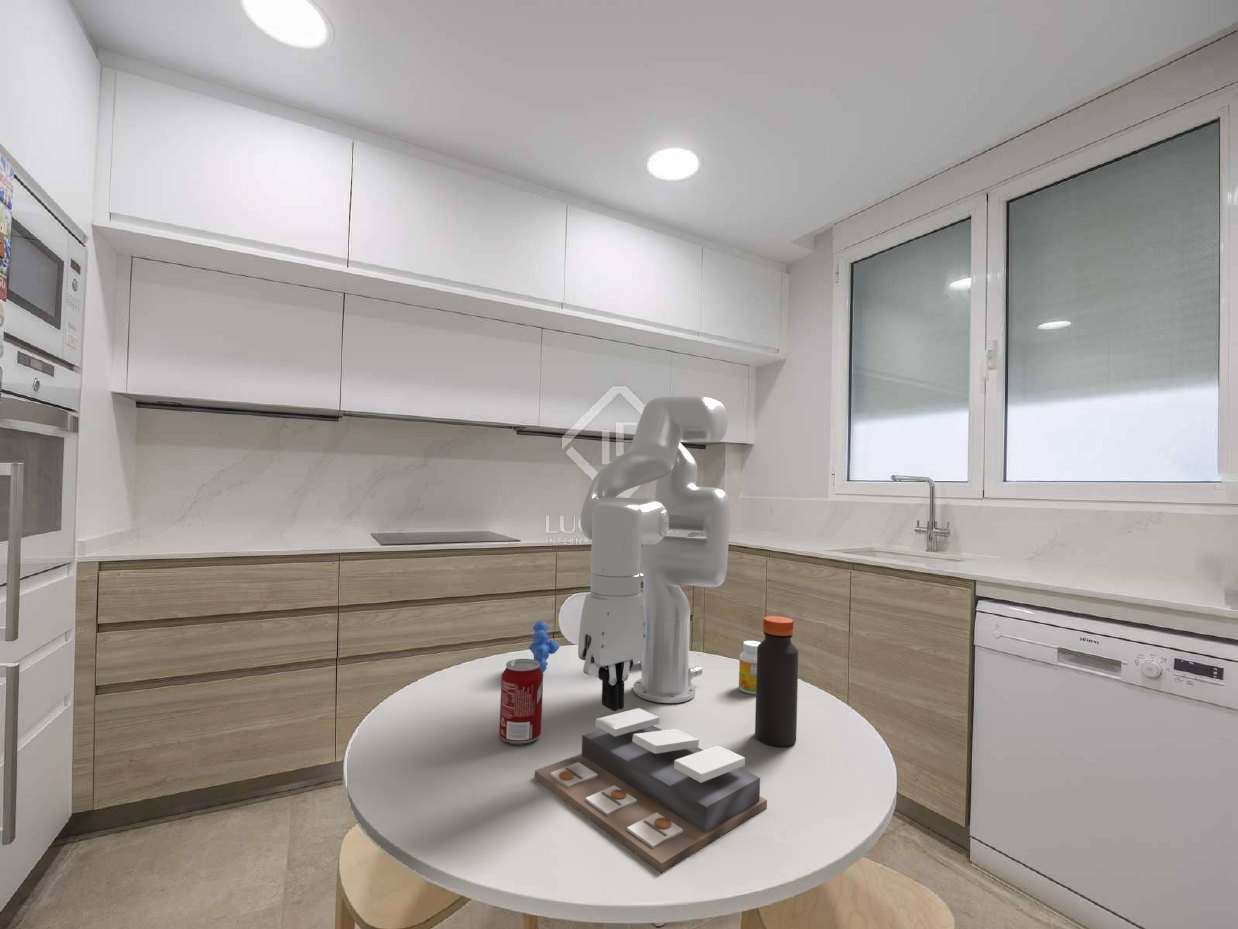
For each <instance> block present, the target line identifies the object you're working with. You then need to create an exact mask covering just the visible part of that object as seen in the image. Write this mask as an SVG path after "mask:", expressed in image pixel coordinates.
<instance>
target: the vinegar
mask: <svg viewBox="0 0 1238 929" xmlns="http://www.w3.org/2000/svg"><path fill="white" fill-rule="evenodd" d="M762 625H763V628H762V629H763V630H762V631H763V636H764V639H763V640H762V641H761V642H760V644H759V645H758V648H757V676H756V694H755V712H754V713H755V715H754V716H755V717H754V721H755V722H754V735H755V737H756V739H758V741H760V742H761V743H764V744H766V745H769V746H773V747H779V748H780V747H781V748H783V747H784V748H785V747H790V746H792V745H794V744H795V743H796V742H797V729H798V727H797V722H798V721H797V720H798V689H799V688H798V687H799V686H798V685H799V684H798V683H799V682H798V680H799V678H798V677H799V650H798V648H797V647H796V646H795V645H794V643H793V642H792V638H793V635H794V620H793V619H792V618H789V617H785V616H776V615H771V616H770V615H768V616H765V617H763V624H762Z"/></svg>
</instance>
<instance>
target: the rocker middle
mask: <svg viewBox="0 0 1238 929" xmlns="http://www.w3.org/2000/svg"><path fill="white" fill-rule="evenodd" d="M661 730H662V731H654V732H645V733H637V734H633V739H632V742H634V743H636V744H638V745H640V746H641V747H643V748H645V749H647V750H649V751H651V752H653V753H655V754H657V753H663V752H670V751H676V750H682V749H688V748H695V747H698V748H699V743H700V739H699V738H696V737H694V736H692V735H691V734H688V733H686V732H684V731H682V730H679V729H677V728H672V729H665V730H663V729H661Z"/></svg>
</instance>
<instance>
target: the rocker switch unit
mask: <svg viewBox="0 0 1238 929" xmlns="http://www.w3.org/2000/svg"><path fill="white" fill-rule="evenodd" d="M662 730H663V729H661V728H658V727H657V726H656V725H653V726H650V727H646V728H643V729H640V730H636V731H633V732H629V733H626V734H622V735H619V736H613V735H611V734H609V733H608V732H606V731H604V730H602V729H600V728H598V729H596V730H594V731H591V732H587V733H585V734H582V736H581V753H579V754H577V755H573V756H570V757H569V758H566V759H562V760H560V761H557V762H554V763H552V764H549V765H547V766H544V767H541V768H539V769H538V768H537V769H535V770H534V778H535V780H537V781H538V782H540V783H541V784H542V785H544V786H545V787H546V788H547V789H549V790H551V791H552V792H553V793H555V795H557V796H559V798H560V799H563V800H564V801H565V802H566V803H567V804H569V805H570V806H572V807H573V808H574V809H576V810H577V811H578V812H580V813H582V814H583V815H584V816H585V817H586V818H587V819H589V820H591V821H592V822H593V823H595V825H597V826H599V827H600V828H601V829H602V830H604V831H605V832H607V833H608V834H610V835H611V836H612V837H613V838H614V839H616V840H617V841H618V842H620V843H621V844H623V845H624V846H625V847H626V848H628V849H629V850H631V851H632V852H633V853H635V854H636V855H637V856H638V857H639V858H641V859H642V860H643V861H645V862H647V863H648V864H649V865H651V866H652V867H653V868H655V869H656V870H657V871H659V873H664V872H665V871H667V870H668V869H670V868H671V867H673V866H675V865H676V864H677V863H679V862H681V861H683V860H684V859H686V858H688V857H689V856H691V855H692V854H694V853H696V852H698V851H699V850H701V849H702V848H704V847H706V846H708V845H709V844H711V843H712V842H713V841H716V839H718V838H720V837H722V836H723V835H725V834H727V833H728V832H729V831H732V830H734V829H735V828H736V827H738V826H739V825H741V824H743V823H744V822H746V821H748V820H749V819H751V818H752V817H754V816H755V815H757V814H759V813H761V812H762V811H764V810H765V809H767V808H768V799H766V798H764V797H762V796H761V794H760V793H761V792H760V790H761V789H760V787H761V777H760V776H757V775H755V774H754V773H751V772H750V771H747V770H745V769H743V768H742V767H740V768H737V769H735V770H732V771H730V772H727V773H724V774H722V775H719V776H717V777H714V778H712V779H709V780H707V781H704V782H702V783H700V782H699V781H697V780H695V779H693V778H691V777H689V776H688V775H686V774H684V773H682V772H680V771H678V770H677V769H675V768H674V761H675V760H676V759H679V758H682V757H685V756H688V755H691V754H694V753H697V752H700V751H703V750H704V749H702V748H700V747H699V746H698V747H695V748H688V749H682V750H676V751H670V752H663V753H657V754H655V753H653V752H651V751H649V750H647V749H645V748H643V747H641V746H640V745H638V744H636V743H634V742H632V739H633V734H637V733H645V732H654V731H662Z"/></svg>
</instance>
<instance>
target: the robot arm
mask: <svg viewBox="0 0 1238 929" xmlns="http://www.w3.org/2000/svg"><path fill="white" fill-rule="evenodd" d="M641 413H642V414H641V415H640V418H639V420H638V423H637V427H636V430H635V433H634V436H633V438H632V441H631V445H630V448H629V450H627V451H625V452H624V453H622V454H621V455H619V456H617V457H615V459H613V460H612V461H610V462H609V463H608V464H607V465H605V466H604V467H603V468H602V469H601V470H599V471H598V473H597V474H596V475H594V478H593V479H592V481H591V483H590V486H589V488H588V491H587V494H586V496H585V499H584V502H583V504H582V509H581V513H580V529H581V531H582V533H583V535H584V536H585V538H587V539H588V540H589V541H591V547H590V548H591V551H590V552H591V553H590V554H591V555H590V560H591V561H590V592H589V593H588V594H585V598H584V602H583V605H582V610H581V616H580V623H579V631H578V632H579V633H578V634H579V635H578V647H577V649H578V650H577V652H578V653H577V654H578V658H579V659H580V660H581V661H584V664H583V667H582V668H583V670H582V671H583V674H586V675H587V676H591V677H595V676H596V677H598V680H600V681H601V682H602V683H601V704H602V706H603V707H605V708H607V709H608V710H610V711H613V712H617V711H619V710H623V709H624V708H625V682H627V680H628V679H629V673H630V671H631V669H632V668H633V665H634V666H635V665H636V664H638V663H640V661H641V660H642V666H641V676H640V677H641V678H639V679H637V680H636V681H635V682H634V683H633V686H632V688H633V692H634V694H635V695H636V696H637V697H639V698H641V699H644V700H646V701H650V702H654V703H660V704H679V703H684V702H687V701H690V700H691V699H694V697H695V696H696V687H695V686H694V684H693V683H692V681H691V680H693V679H694V678H696V677H700V676H702V674H703V669H702V667H701V666H699V665H697V666H694V667H690V666H689V662H690V660H689V659H690V630H691V629H690V627H691V625H690V624H691V605H690V603H689V602H690V601H689V599H688V598H687V596H686V594H685V592H684V591H683V590H682V588H681V586H692V587H693V586H695V587H705V588H717V587H719V586H721V585H722V584H723V583H724V581H725V580H726V577H727V571H728V570H727V569H728V559H729V558H728V557H729V544H730V542H729V540H730V539H729V538H730V527H731V526H730V525H731V505H730V503H731V502H730V499H729V497H728V495H727V493H726V492H725V491H724V490H723V489H721V488H717V487H710V486H697V479H698V478H697V477H698V464H697V462H696V460H695V458H694V457H693V456H692V454H691V453H690V451H689V450H688V449H687V448H686V447H685V446H684V445H683V444H682V443H718V442H721V441H722V440H723V439H724V438H725V435H726V432H727V430H728V423H729V421H728V420H729V419H728V414H727V410H726V408H725V406H724V404H723V403H722V402H721V401H718V400H716V399H714V398H712V397H707V396H700V395H699V396H695V395H694V396H693V395H692V396H686V395H685V396H683V395H682V396H659V397H656V398H653V399H651V400H650V401H648V403H646V405H645V406H644V408H643V411H642V412H641ZM654 481H656V483H655V491H654V492H655V494H654V499H649V498H635V497H633V498H631V497H619V495H621V494H622V493H624V492H626V491H628V490H630V489H633V488H636V487H639V486H642V485H646V484H649V483H652V482H654ZM668 531H672V532H680V533H681V532H682V533H696V534H697V533H699V534H704V535H705V538H697V537H685V536H672V535H667V533H668ZM642 582H643V592H644V599H643V594H642V593H643V592H642V591H641V590H642V589H641V584H642Z"/></svg>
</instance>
